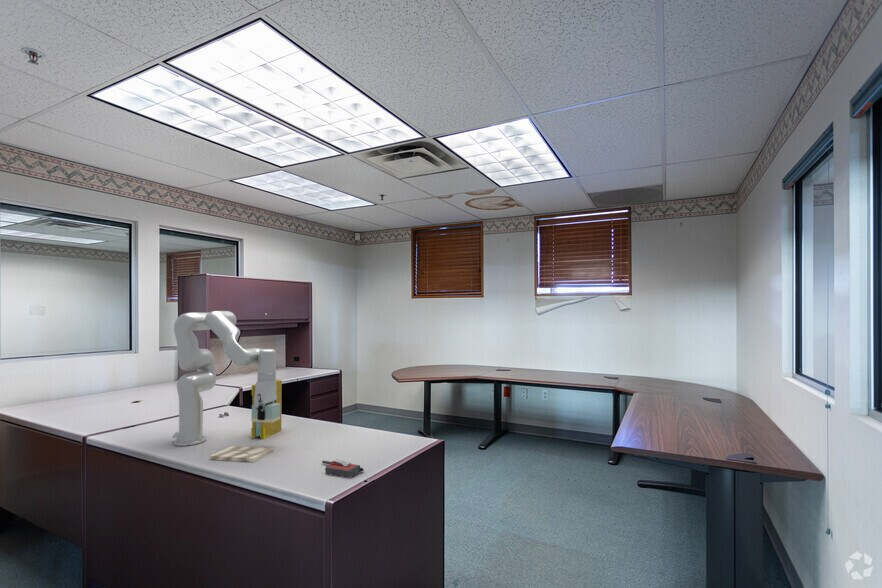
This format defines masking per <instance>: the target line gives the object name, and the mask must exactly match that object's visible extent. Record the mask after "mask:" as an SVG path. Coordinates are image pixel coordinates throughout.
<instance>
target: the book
mask: <svg viewBox="0 0 882 588" xmlns="http://www.w3.org/2000/svg"><path fill="white" fill-rule="evenodd" d="M282 384H283V383H282V379H276V388H277V397H278V398H277V400H276V403H280V420H277V421H275V422H273V423H268V422H252V423H251V424H252V425H251V432H250V433H251V436H250V437H251V438H253V440H255V439H257V438H260V440H266V439H268V438H269V437H270V435H271V436H273V435H276V433H279V432H281V431H282V406H283V405H282V396H283V395H282V392H283V391H282V389H283V388H282V386H283V385H282ZM255 387H256V383H255V384H251V396H252V400H251V401H252V405H254V397H255ZM261 403H262V402H261ZM270 403H271V402H270ZM252 405H251V406H252ZM272 434H273V435H272ZM259 436H260V437H259Z"/></svg>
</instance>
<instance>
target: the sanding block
mask: <svg viewBox="0 0 882 588" xmlns="http://www.w3.org/2000/svg"><path fill="white" fill-rule="evenodd" d="M260 406H261V407H262V405H260ZM264 411H265V420H258V419H257V417H258V411H257V409H256V407H255V406H254V405H251V420H250V421H251V422H268V423H273V422H275V421H277V420H280V403H267V404H265V408H264Z"/></svg>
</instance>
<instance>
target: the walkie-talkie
mask: <svg viewBox="0 0 882 588" xmlns="http://www.w3.org/2000/svg"><path fill="white" fill-rule="evenodd" d="M321 463H322V464H325V465H326V466H325V468H324V471H325V474H326V475H329V474H332V475H331V476H334V475H339V476H338V477H340V476H345V477H344V478H346V477H352V476H354V475H355V474H357V473H359V472H360V473H361V472H364V468H363V467H361V465H360V464H355V463H352V462H349V461H345V460H342V459H338V458H337V459H334V460H333V461H330V460H322V461H321ZM360 473H359V474H360ZM357 475H358V474H357ZM355 476H356V475H355ZM355 476H354V477H355ZM352 478H353V477H352Z"/></svg>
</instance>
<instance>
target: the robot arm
mask: <svg viewBox="0 0 882 588" xmlns="http://www.w3.org/2000/svg"><path fill="white" fill-rule="evenodd" d="M236 324H237V317H236V315H235V313H233V312H232V311H230V310H213V311H210V312H198V311H197V312H196V311H194V312H193V311H192V312H191V311H190V312H185V313H182V314H180V315H179V316H178V317H177V318H176V319H175V321H174V323H173V333H174V336H175V341H176V350H177V359H178V366H179V368H180V369H181V370H182V371H185V372H187V371H194V370H197V371H196V372H190V373H186V374H183V375H182V376H181V377H179V378H178V380H177V383H176V390H177V395H178V431H177V432H174V434H173V435H172V438H176V440H175V441H174V445H175V446H176V447H177V446H179V447H189V446H194V445H199V444H201V443H204V442H205V441H207V437H206V436H205V435H203V434H204V433H203V431H204V430H203V427H204V425H203V424H204V422H203V421H204V400H203V398H202V396H201V394H200V393H203V392H207V391H211V390H212V389H213V388H215V386H216V383H217V373H216V362H215V357H214V354H213V352H212V351H211V350H210V349H208V348H200V347H199V340H198V338H197V336H196V334H195V333H194V332H193V331H212V332H213V333H214V334H215V335H216V336H217V338H219V340H220V341H222V343H223V345H222V346H223V351H224V353H225V355H226V357H227V358H229V359H230V361H232V362H233V364H235V365H236V366H239V367H244V368H245V367H250V366H255V365H257V381H256V383H255V384H256V387H255V397H254V406H255V407H256V409H257V411H258V417H257V419H258V420H265V411H264V408H265V404H267V403H270V402H271V403H276V400H277V398H278V397H277V388H276V380H277V377H276V376H277V375H276V374H277V350H275V348H274V349H273V348H260V347H253V348H252V347H251V348H244V347H242V346H241V345H240V344H239V343H238V341H237V340H238V338H239V337H240V335H241V330H240V329H239V328H238V327H237V325H236ZM261 402H262V403H261ZM260 405H262V407H261V406H260ZM188 445H189V446H188Z"/></svg>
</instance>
